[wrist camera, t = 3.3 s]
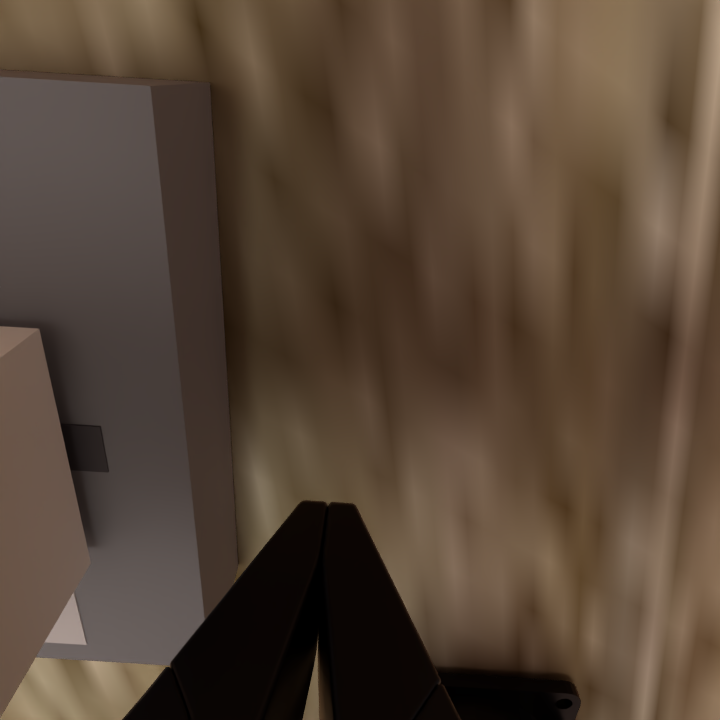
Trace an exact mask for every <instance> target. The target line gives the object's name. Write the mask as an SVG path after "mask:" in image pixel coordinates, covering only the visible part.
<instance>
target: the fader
mask: <svg viewBox="0 0 720 720" xmlns="http://www.w3.org/2000/svg"><path fill="white" fill-rule="evenodd" d="M90 564H91V562H90V557H89V552H88V548H87V543H86V539H85V534H84V530H83V525H82V521H81V516H80V512H79V507H78V503H77V498H76V493H75V489H74V484H73V480H72V475H71V471H70V466H69V462H68V457H67V453H66V448H65V444H64V439H63V435H62V430H61V425H60V421H59V416H58V412H57V407H56V403H55V398H54V394H53V389H52V385H51V380H50V376H49V371H48V366H47V362H46V357H45V353H44V348H43V344H42V339H41V335H40V330H39V329H38V328H21V327H5V326H0V718H1V716H2V714H3V712H4V711H5V709H6V707H7V706H8V704H9V702H10V700H11V699H12V697H13V695H14V694H15V692H16V690H17V688H18V687H19V685H20V683H21V682H22V680H23V678H24V676H25V675H26V673H27V671H28V670H29V668H30V666H31V664H32V663H33V661H34V659H35V658H36V656H37V654H38V653H39V651H40V649H41V647H42V646H43V644H44V642H45V641H46V639H47V637H48V635H49V634H50V632H51V630H52V629H53V627H54V625H55V623H56V622H57V620H58V618H59V617H60V615H61V613H62V611H63V610H64V608H65V606H66V605H67V603H68V601H69V599H70V598H71V596H72V594H73V593H74V591H75V589H76V587H77V586H78V584H79V582H80V581H81V579H82V577H83V576H84V574H85V572H86V570H87V569H88V567H89V565H90Z"/></svg>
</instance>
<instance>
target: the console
mask: <svg viewBox="0 0 720 720" xmlns="http://www.w3.org/2000/svg"><path fill="white" fill-rule="evenodd" d="M0 326H5V327H21V328H38V329H39V330H40V335H41V339H42V344H43V348H44V353H45V357H46V362H47V366H48V371H49V376H50V380H51V385H52V389H53V394H54V398H55V403H56V407H57V412H58V416H59V421H60V425H61V430H62V435H63V439H64V444H65V448H66V453H67V457H68V462H69V466H70V471H71V475H72V480H73V484H74V489H75V493H76V498H77V503H78V507H79V512H80V516H81V521H82V525H83V530H84V534H85V539H86V543H87V548H88V552H89V557H90V562H91V564H90V565H89V567H88V569H87V570H86V572H85V574H84V576H83V577H82V579H81V581H80V582H79V584H78V586H77V587H76V589H75V591H74V593H73V594H72V596H71V598H70V599H69V601H68V603H67V605H66V606H65V608H64V610H63V611H62V613H61V615H60V617H59V618H58V620H57V622H56V623H55V625H54V627H53V629H52V630H51V632H50V634H49V635H48V637H47V639H46V641H45V642H44V644H43V646H42V647H41V649H40V651H39V653H38V654H37V656H36V657H40V658H56V659H72V660H89V661H105V662H121V663H138V664H154V665H170V662H171V661H172V660H173V658H174V657H175V656H176V655H177V653H178V652H179V651H180V650H181V648H182V647H183V646H184V645H185V644H186V642H187V641H188V640H189V639H190V637H191V636H192V635H193V634H194V632H195V631H196V630H197V629H198V628H199V626H200V625H201V624H202V623H203V621H204V620H205V619H206V618H207V616H208V615H209V614H210V613H211V611H212V610H213V609H214V608H215V607H216V605H217V604H218V603H219V602H220V600H221V599H222V598H223V597H224V595H225V594H226V593H227V592H228V591H229V589H230V588H231V587H232V586H233V583H234V580H235V576H236V572H237V569H238V552H237V535H236V518H235V501H234V484H233V467H232V450H231V433H230V416H229V399H228V382H227V365H226V348H225V330H224V313H223V296H222V279H221V262H220V245H219V228H218V211H217V194H216V177H215V160H214V143H213V126H212V109H211V92H210V82H194V81H178V80H161V79H145V78H129V77H113V76H96V75H80V74H64V73H48V72H31V71H15V70H0Z"/></svg>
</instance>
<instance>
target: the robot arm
mask: <svg viewBox="0 0 720 720" xmlns="http://www.w3.org/2000/svg"><path fill="white" fill-rule="evenodd" d="M318 634H319V635H318ZM317 642H318V686H319V720H575V718H576V716H577V713H578V710H579V708H580V704H581V700H580V697H579V694H578V691H577V688H576V687H575V685H574V684H572V683H571V682H568V681H561V680H544V679H528V678H512V677H495V676H479V675H463V674H446V673H437V671H436V669H435V667H434V665H433V663H432V661H431V659H430V657H429V654H428V652H427V650H426V648H425V646H424V644H423V642H422V640H421V638H420V636H419V634H418V632H417V630H416V628H415V626H414V624H413V622H412V620H411V618H410V616H409V614H408V611H407V609H406V607H405V605H404V603H403V601H402V599H401V597H400V595H399V593H398V591H397V589H396V587H395V585H394V583H393V581H392V579H391V577H390V575H389V573H388V570H387V568H386V566H385V564H384V562H383V560H382V558H381V556H380V554H379V552H378V550H377V548H376V546H375V544H374V542H373V540H372V538H371V536H370V534H369V532H368V529H367V527H366V525H365V523H364V521H363V519H362V517H361V515H360V513H359V511H358V509H357V507H356V506H355V505H354V504H353V503H341V502H331V503H330V504H329V505H327V503H326V502H324V501H310V500H304V501H301V502H300V503H299V504H298V505H297V507H296V508H295V509H294V510H293V512H292V513H291V514H290V515H289V517H288V518H287V519H286V520H285V521H284V523H283V524H282V525H281V526H280V528H279V529H278V530H277V531H276V533H275V534H274V535H273V536H272V538H271V539H270V540H269V541H268V542H267V544H266V545H265V546H264V547H263V549H262V550H261V551H260V552H259V554H258V555H257V556H256V557H255V558H254V560H253V561H252V562H251V563H250V565H249V566H248V567H247V568H246V570H245V571H244V572H243V573H242V574H241V576H240V577H239V578H238V579H237V581H236V582H235V583H234V584H233V586H232V587H231V588H230V589H229V591H228V592H227V593H226V594H225V595H224V597H223V598H222V599H221V600H220V602H219V603H218V604H217V605H216V607H215V608H214V609H213V610H212V611H211V613H210V614H209V615H208V616H207V618H206V619H205V620H204V621H203V623H202V624H201V625H200V626H199V628H198V629H197V630H196V631H195V632H194V634H193V635H192V636H191V637H190V639H189V640H188V641H187V642H186V644H185V645H184V646H183V647H182V648H181V650H180V651H179V652H178V653H177V655H176V656H175V657H174V658H173V660H172V661H171V662H170V667H166V668H165V669H164V670H163V671H162V673H161V674H160V675H159V676H158V678H157V679H156V680H155V681H154V683H153V684H152V685H151V686H150V688H149V689H148V690H147V691H146V693H145V694H144V695H143V696H142V697H141V698H140V700H139V701H138V702H137V703H136V704H135V705H134V707H133V708H132V709H131V710H130V711H129V712H128V714H127V715H126V716H125V717H124V718H123V719H122V720H302V719H303V714H304V710H305V705H306V700H307V695H308V691H309V686H310V681H311V676H312V672H313V667H314V661H315V656H316V650H317Z"/></svg>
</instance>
